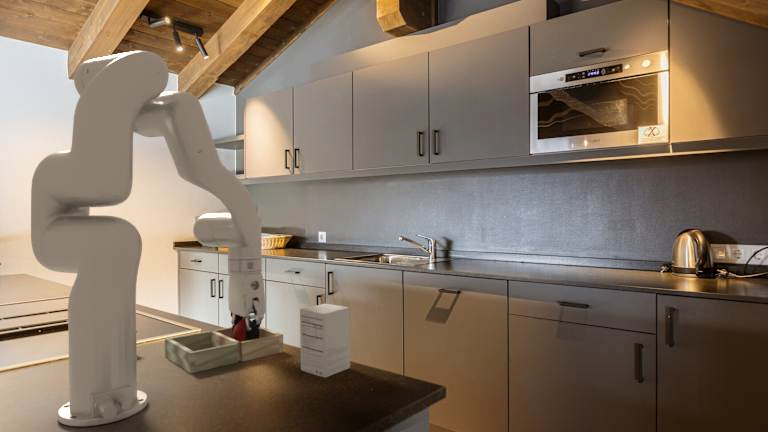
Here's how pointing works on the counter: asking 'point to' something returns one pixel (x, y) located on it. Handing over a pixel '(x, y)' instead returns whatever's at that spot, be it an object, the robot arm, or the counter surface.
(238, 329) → the onion
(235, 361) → the compartment tray
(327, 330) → the supplement box
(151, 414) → the counter surface
